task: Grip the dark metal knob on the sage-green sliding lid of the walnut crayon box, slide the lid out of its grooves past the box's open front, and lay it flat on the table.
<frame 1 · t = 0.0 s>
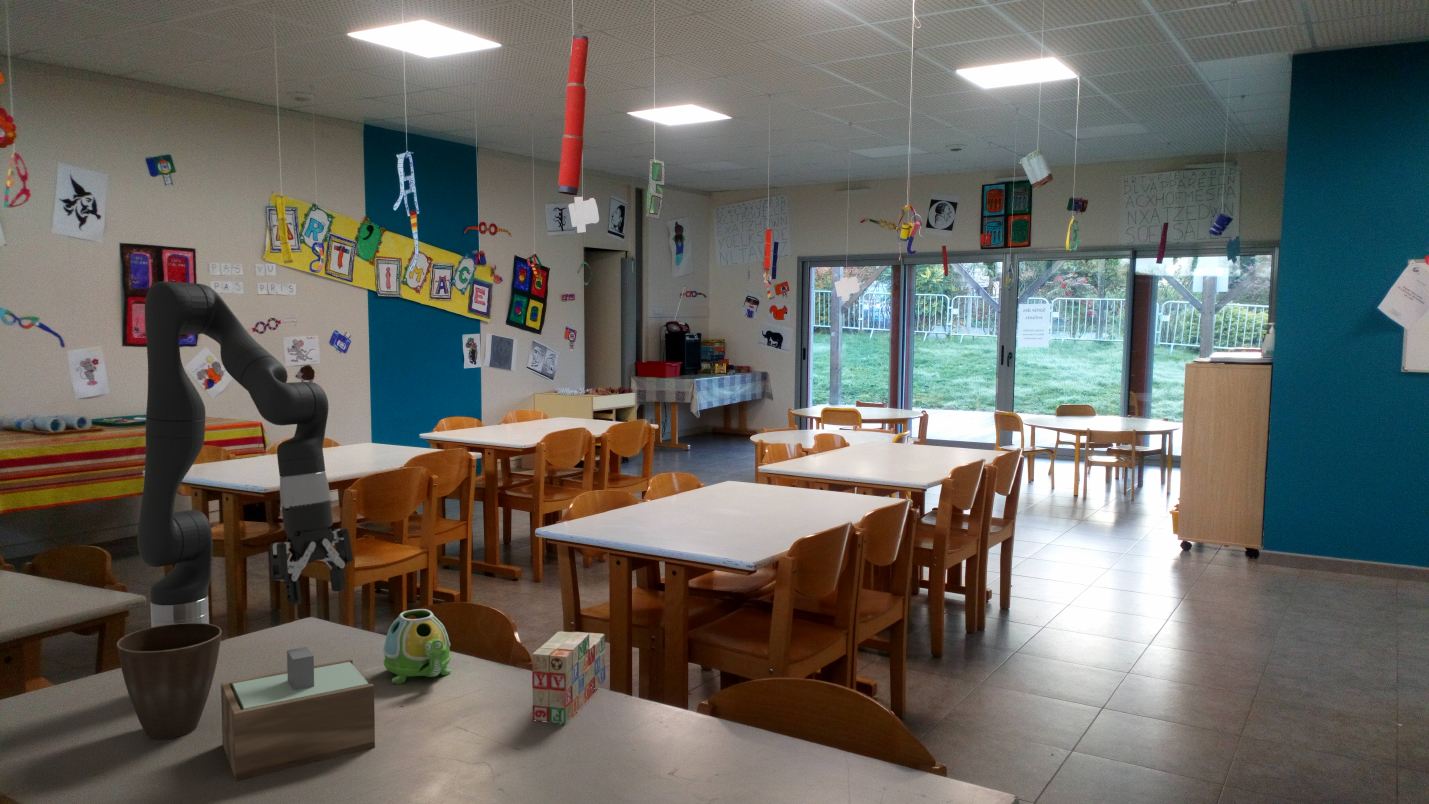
hand: (317, 597, 153), 22 cm above the table, tool pointing down, fingers open, 8 cm apart
lid: (300, 690, 147), point 9 cm above the table, touching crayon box
plant pot: (173, 730, 153), on the table
stack of blocks: (571, 701, 167), on the table
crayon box: (298, 745, 147), on the table
turtle holder: (421, 676, 178), on the table
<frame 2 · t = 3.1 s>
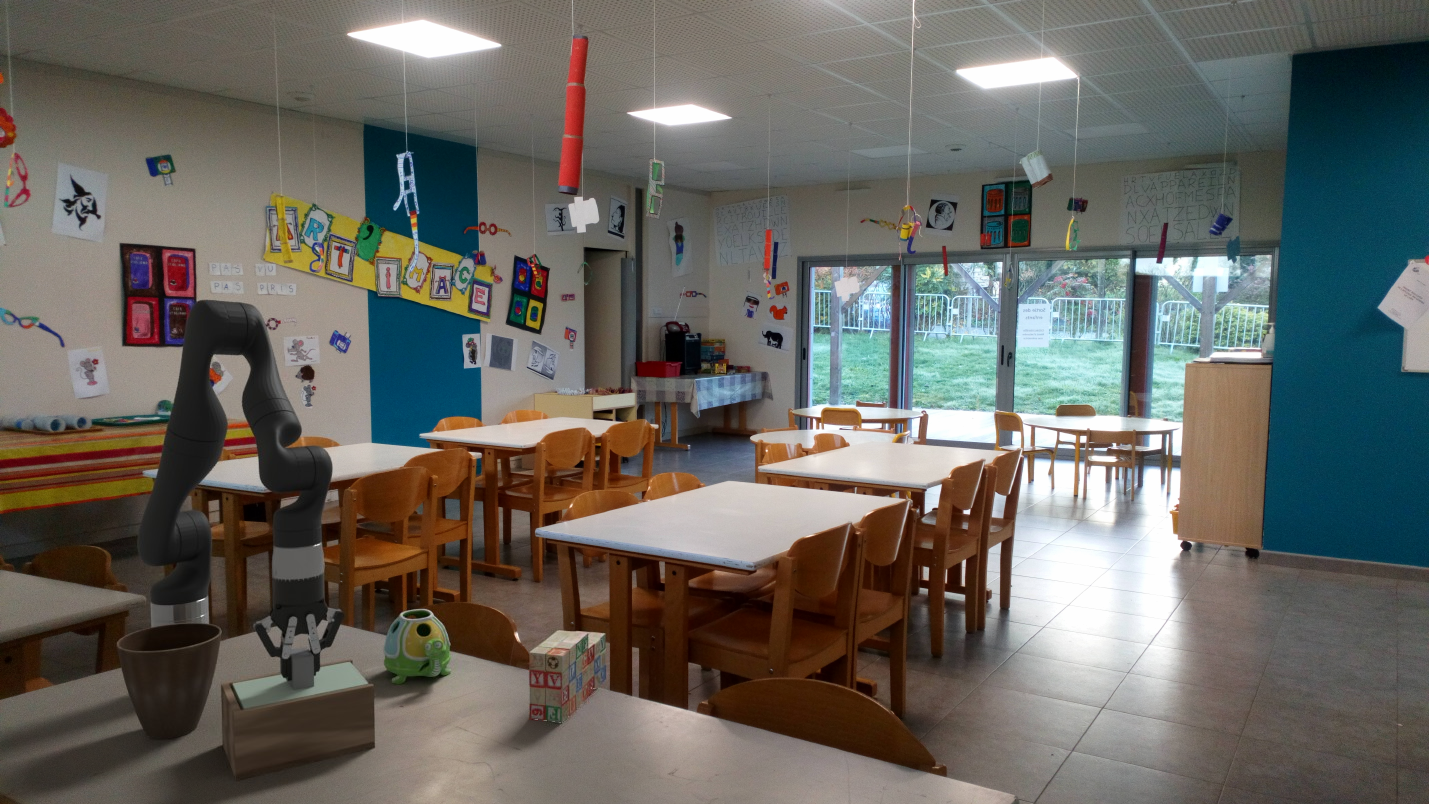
hand: (300, 676, 147), 11 cm above the table, tool pointing down, fingers closed on lid, 3 cm apart
lid: (300, 690, 147), point 9 cm above the table, touching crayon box, gripper
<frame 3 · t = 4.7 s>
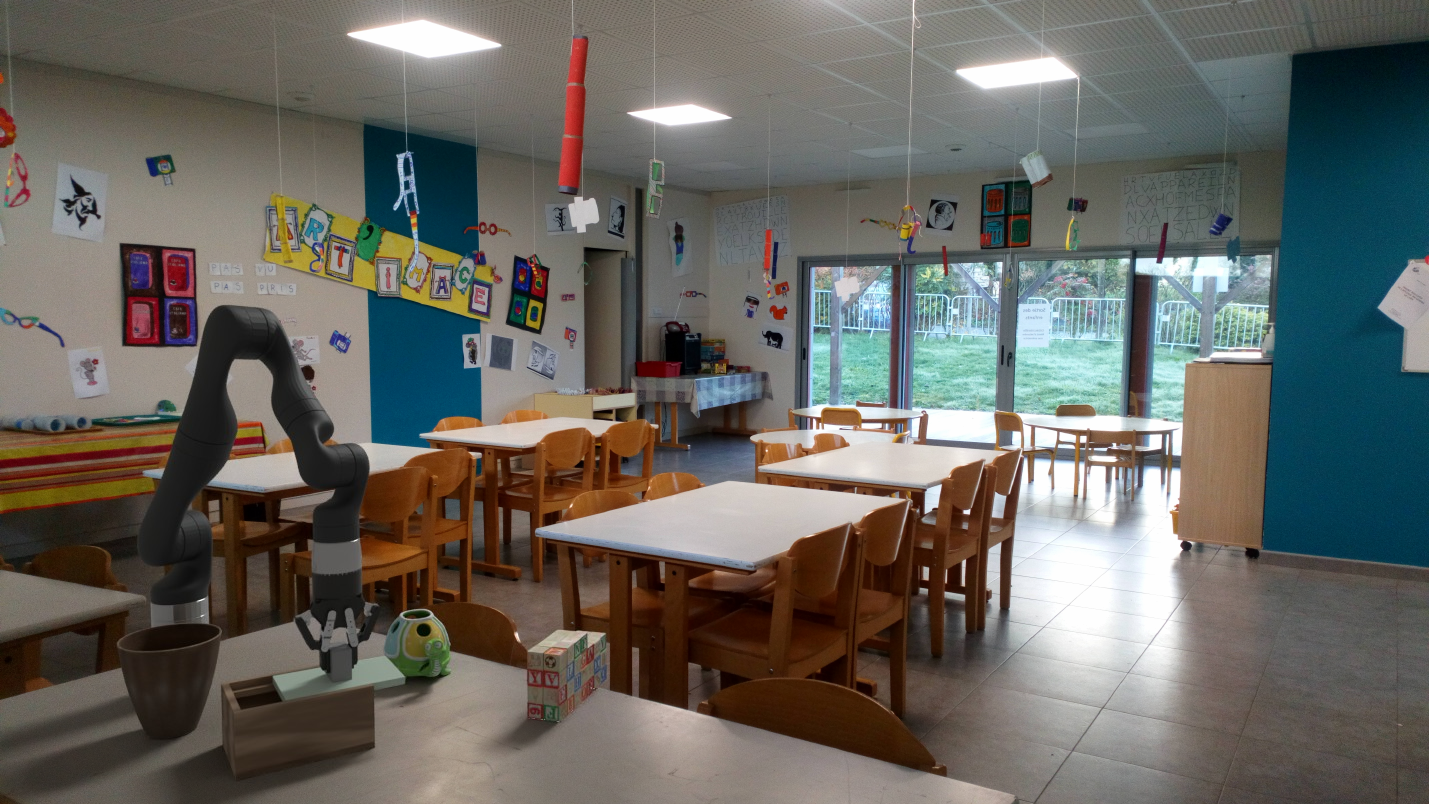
hand: (338, 669, 150), 11 cm above the table, tool pointing down, fingers closed on lid, 3 cm apart
lid: (338, 683, 150), point 9 cm above the table, touching gripper
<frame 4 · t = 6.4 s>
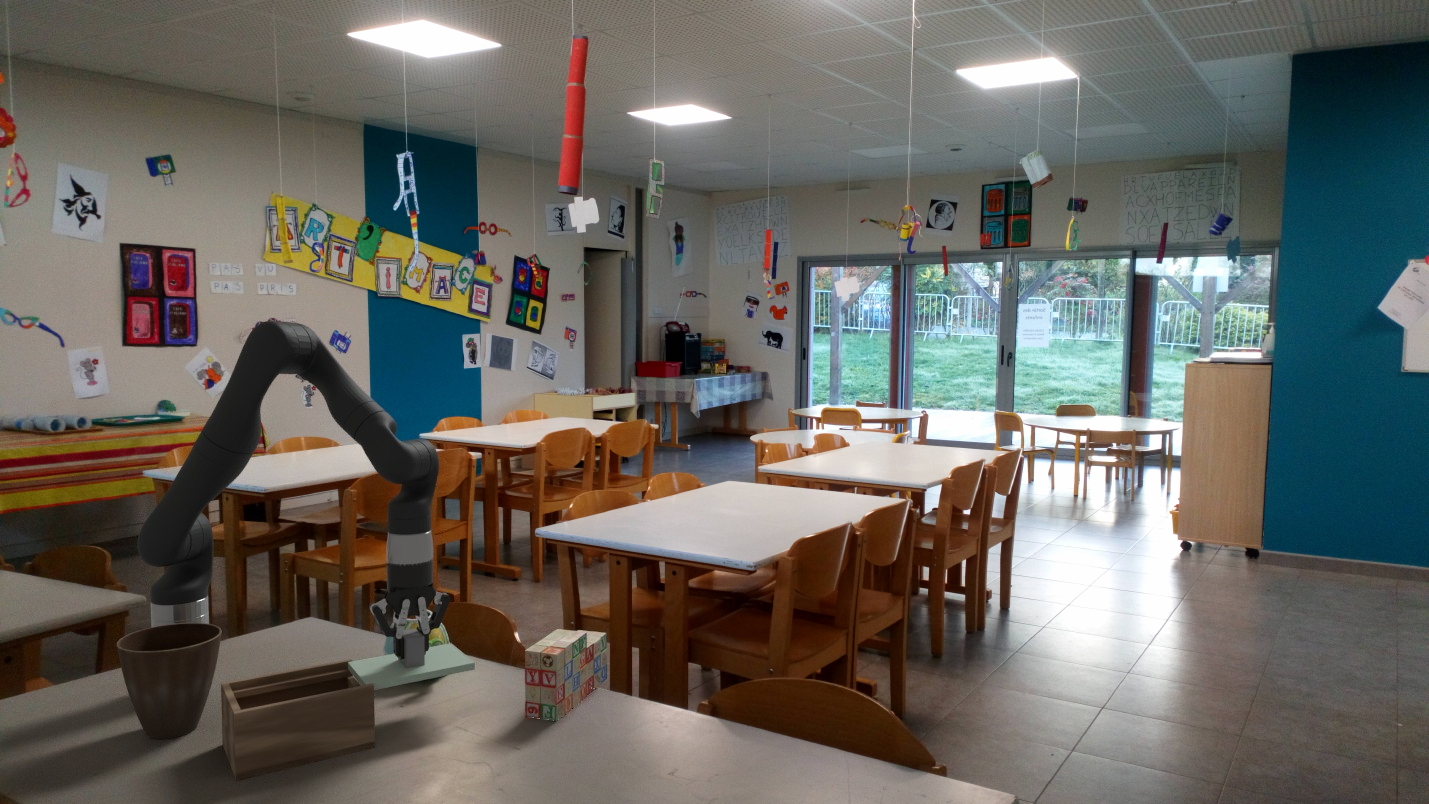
hand: (411, 655, 157), 11 cm above the table, tool pointing down, fingers closed on lid, 3 cm apart
lid: (411, 669, 157), point 9 cm above the table, touching gripper
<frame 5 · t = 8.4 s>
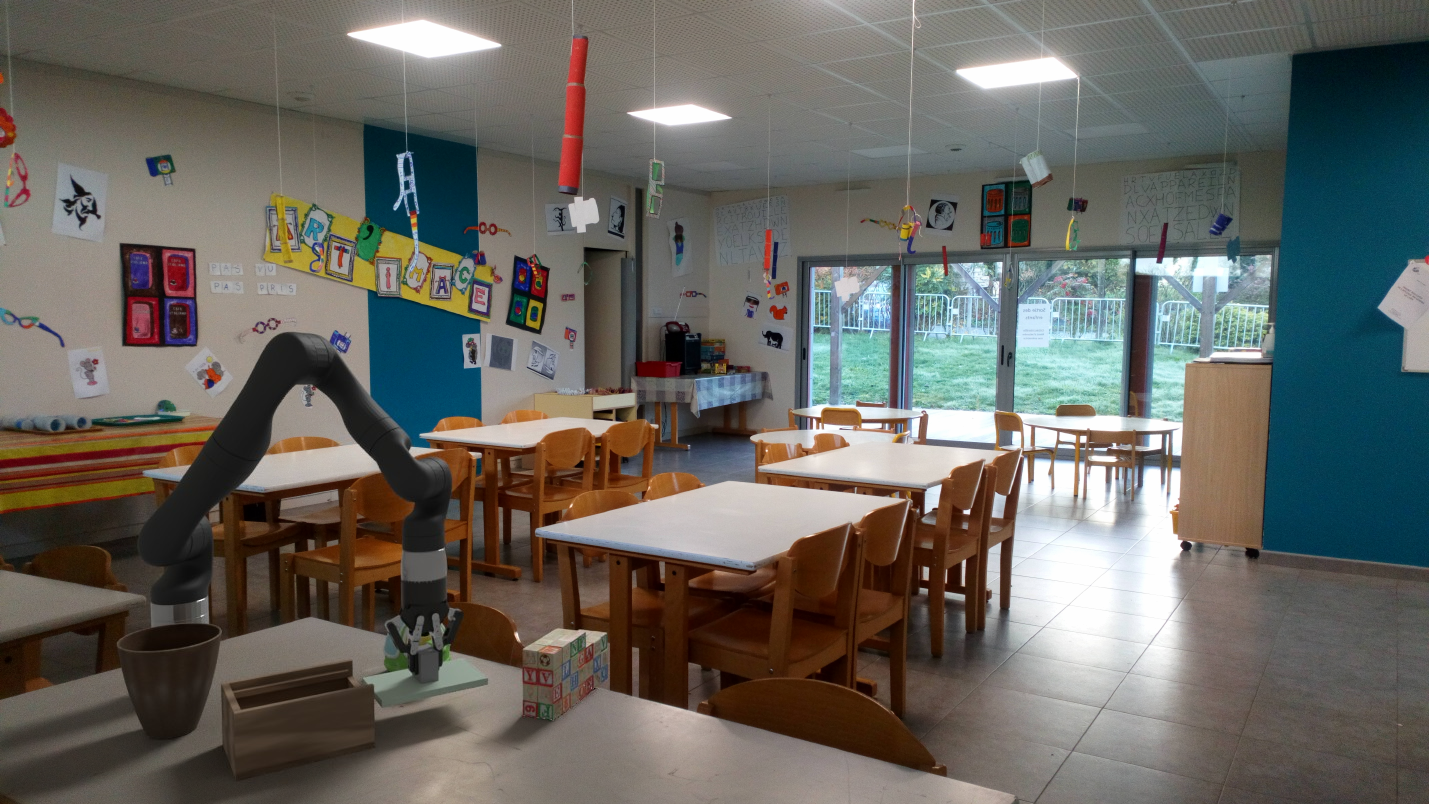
hand: (425, 671, 158), 8 cm above the table, tool pointing down, fingers closed on lid, 3 cm apart
lid: (425, 684, 159), point 6 cm above the table, touching gripper
when the fingers open (4 cm above the table, at t = 10.0 s): lid drops 2 cm, on the table.
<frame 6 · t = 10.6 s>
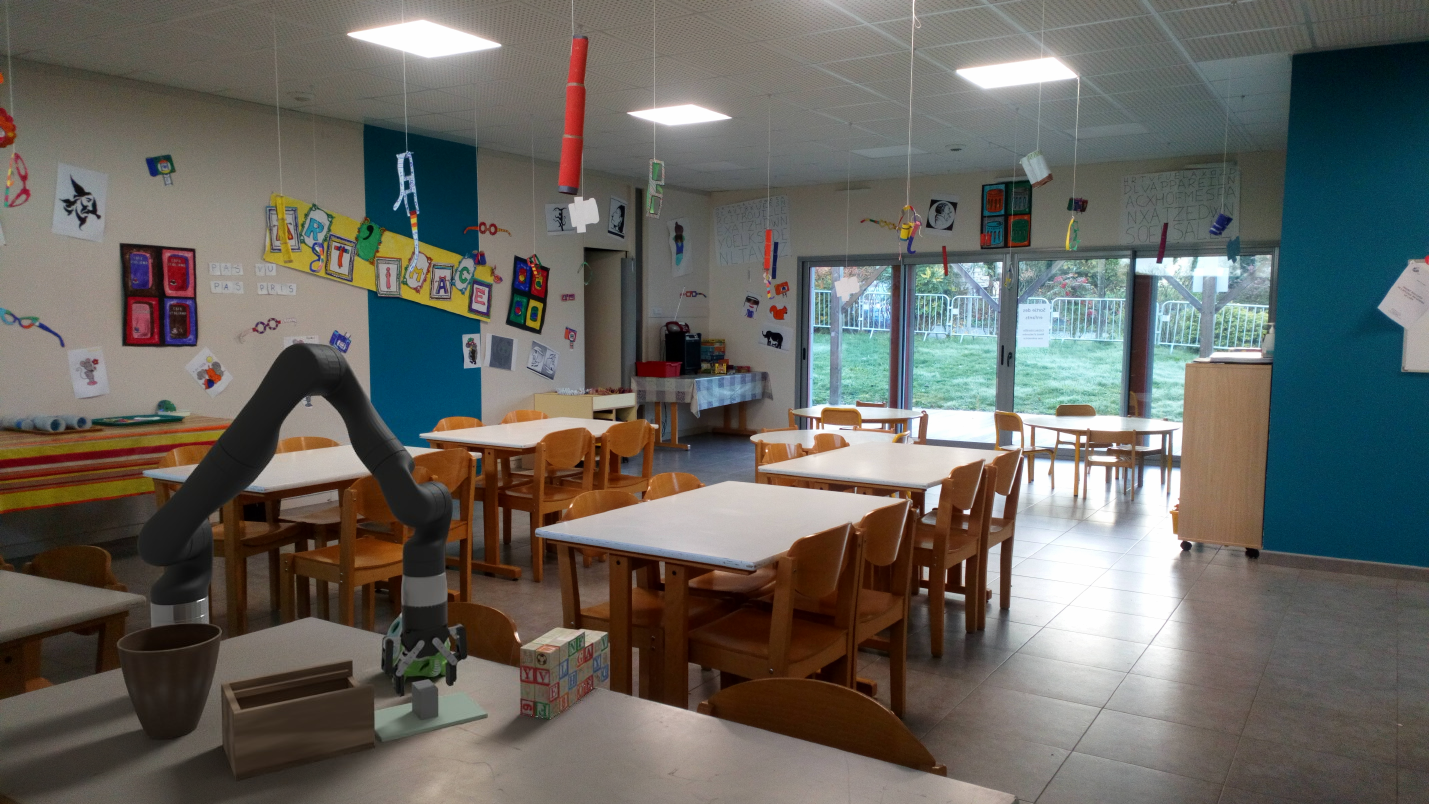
hand: (425, 689, 159), 5 cm above the table, tool pointing down, fingers open, 8 cm apart
lid: (425, 719, 159), on the table
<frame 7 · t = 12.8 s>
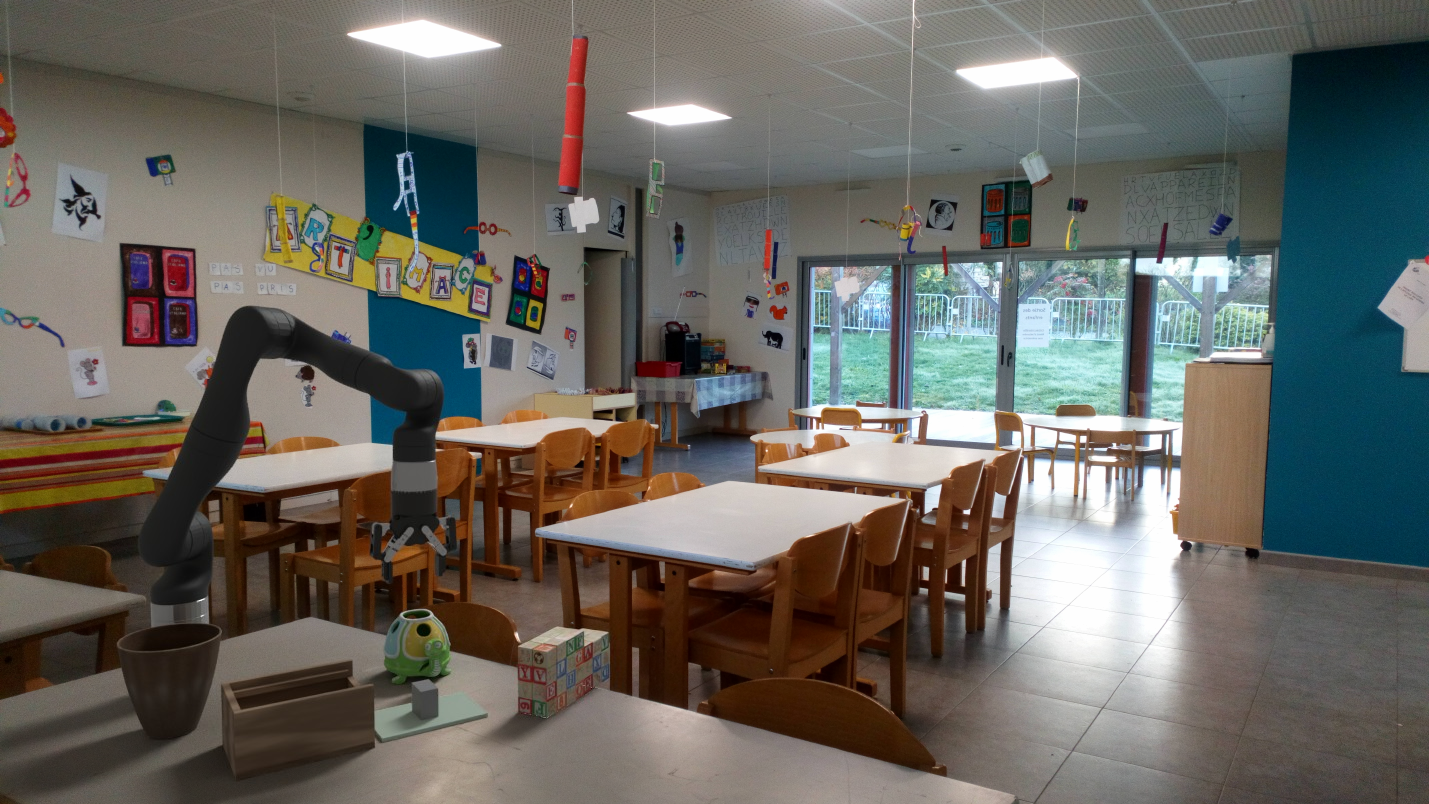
hand: (413, 579, 157), 24 cm above the table, tool pointing down, fingers open, 8 cm apart
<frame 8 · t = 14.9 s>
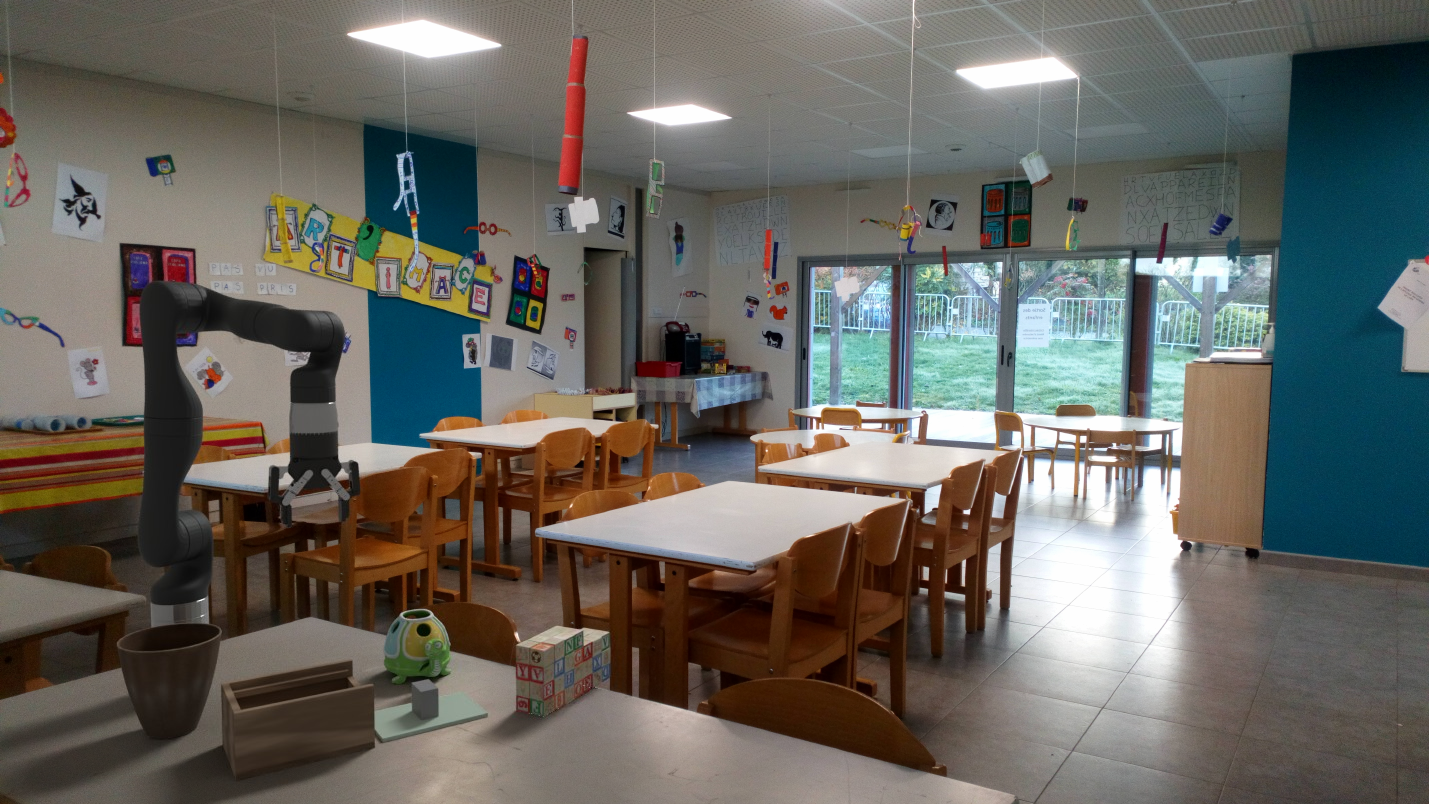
hand: (315, 523, 155), 34 cm above the table, tool pointing down, fingers open, 8 cm apart
at the end: lid inside the target area (0.1 cm from its centre), on the table; lid tilted 0°; the gripper is holding nothing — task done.
